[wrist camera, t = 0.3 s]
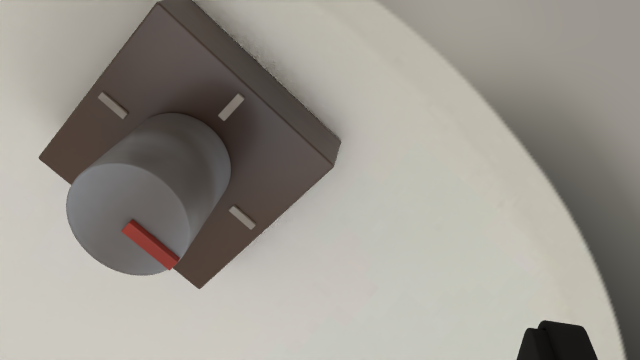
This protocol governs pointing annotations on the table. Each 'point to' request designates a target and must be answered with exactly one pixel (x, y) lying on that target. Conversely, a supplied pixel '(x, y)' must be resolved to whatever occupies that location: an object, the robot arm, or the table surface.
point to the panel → (216, 112)
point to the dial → (149, 194)
